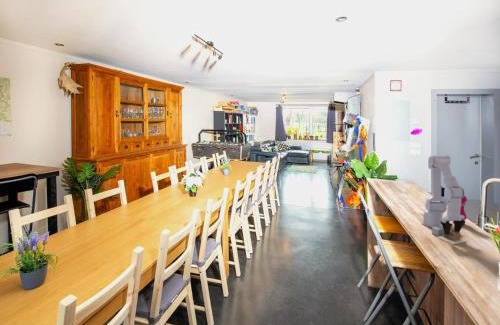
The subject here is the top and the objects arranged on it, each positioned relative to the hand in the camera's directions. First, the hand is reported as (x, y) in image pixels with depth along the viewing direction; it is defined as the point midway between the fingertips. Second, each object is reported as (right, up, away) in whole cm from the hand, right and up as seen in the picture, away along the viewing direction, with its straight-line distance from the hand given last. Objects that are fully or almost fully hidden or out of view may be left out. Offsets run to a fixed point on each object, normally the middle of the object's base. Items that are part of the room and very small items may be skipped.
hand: (451, 233), depth 155 cm
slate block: (-2, -3, +8) cm, 9 cm away
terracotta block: (+7, -2, +10) cm, 12 cm away
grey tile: (0, -4, +1) cm, 4 cm away
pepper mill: (+22, 0, +24) cm, 32 cm away
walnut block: (0, -3, 0) cm, 3 cm away
